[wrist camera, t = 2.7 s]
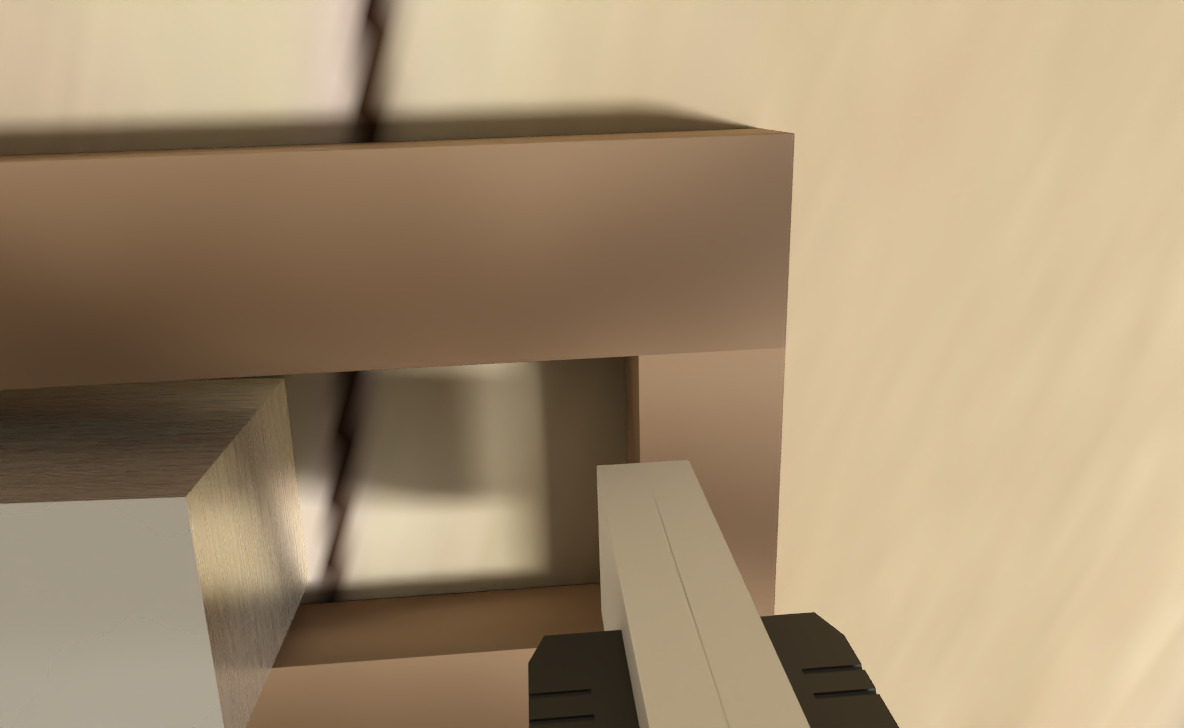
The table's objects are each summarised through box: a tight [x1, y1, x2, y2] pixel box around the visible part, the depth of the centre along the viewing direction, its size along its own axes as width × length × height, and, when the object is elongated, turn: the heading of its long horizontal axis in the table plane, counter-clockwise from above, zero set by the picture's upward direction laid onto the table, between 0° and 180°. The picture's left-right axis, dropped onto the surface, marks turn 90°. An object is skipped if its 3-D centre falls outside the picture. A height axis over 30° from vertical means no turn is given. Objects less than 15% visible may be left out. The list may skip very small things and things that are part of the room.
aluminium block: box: [0, 378, 309, 728], centre depth 14 cm, size 4×8×5 cm, turn 90°
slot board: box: [0, 128, 794, 728], centre depth 15 cm, size 13×18×2 cm
